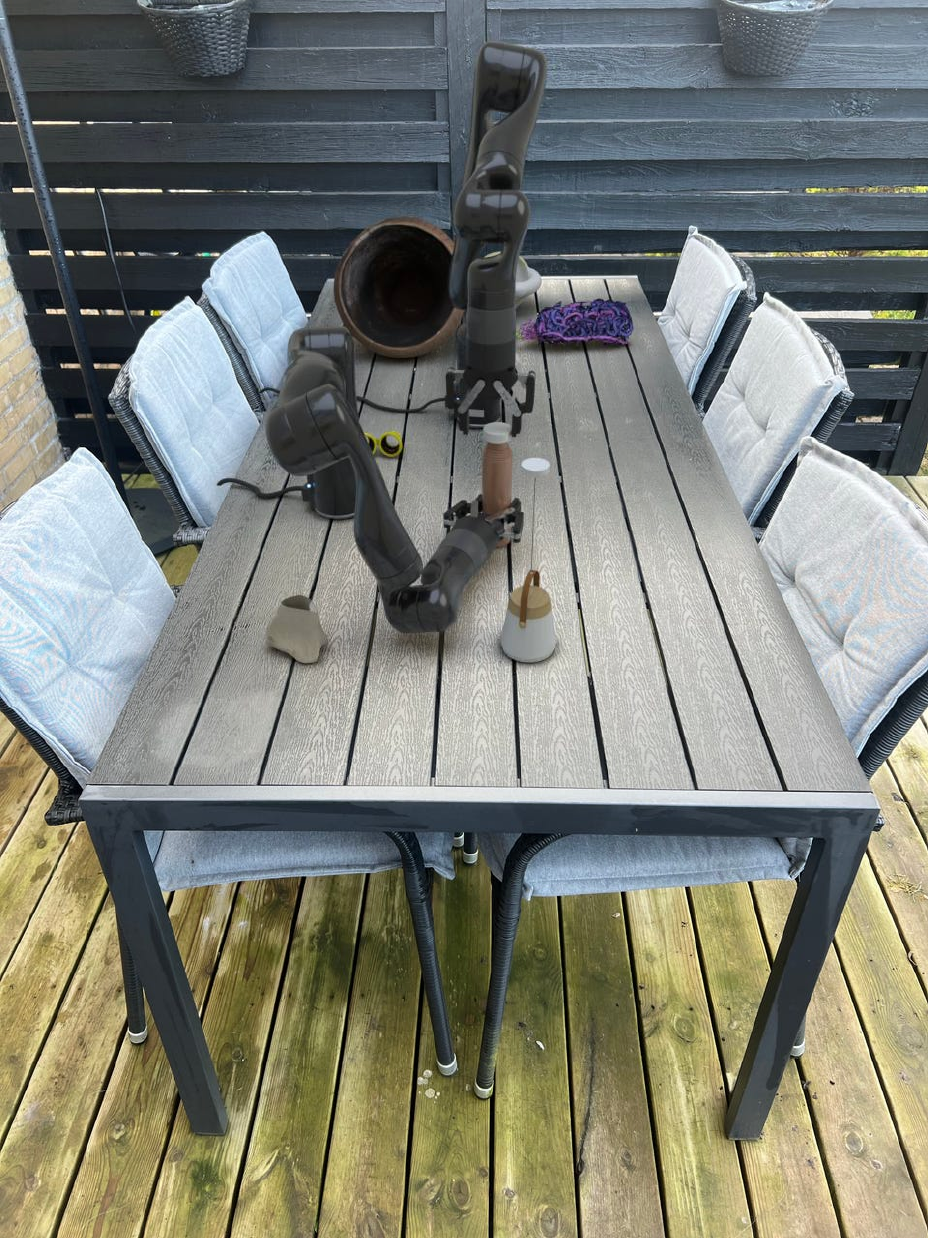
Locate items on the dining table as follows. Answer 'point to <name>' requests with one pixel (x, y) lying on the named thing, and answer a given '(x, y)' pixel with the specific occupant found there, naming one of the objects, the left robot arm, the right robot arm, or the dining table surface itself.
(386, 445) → the opera glasses
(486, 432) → the cap
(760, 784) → the dining table surface
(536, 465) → the pendant light
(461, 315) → the pot
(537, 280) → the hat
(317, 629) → the grey hollow flared piece
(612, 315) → the decorative ornament
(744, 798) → the dining table surface
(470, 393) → the right robot arm
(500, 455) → the bottle
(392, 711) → the dining table surface
